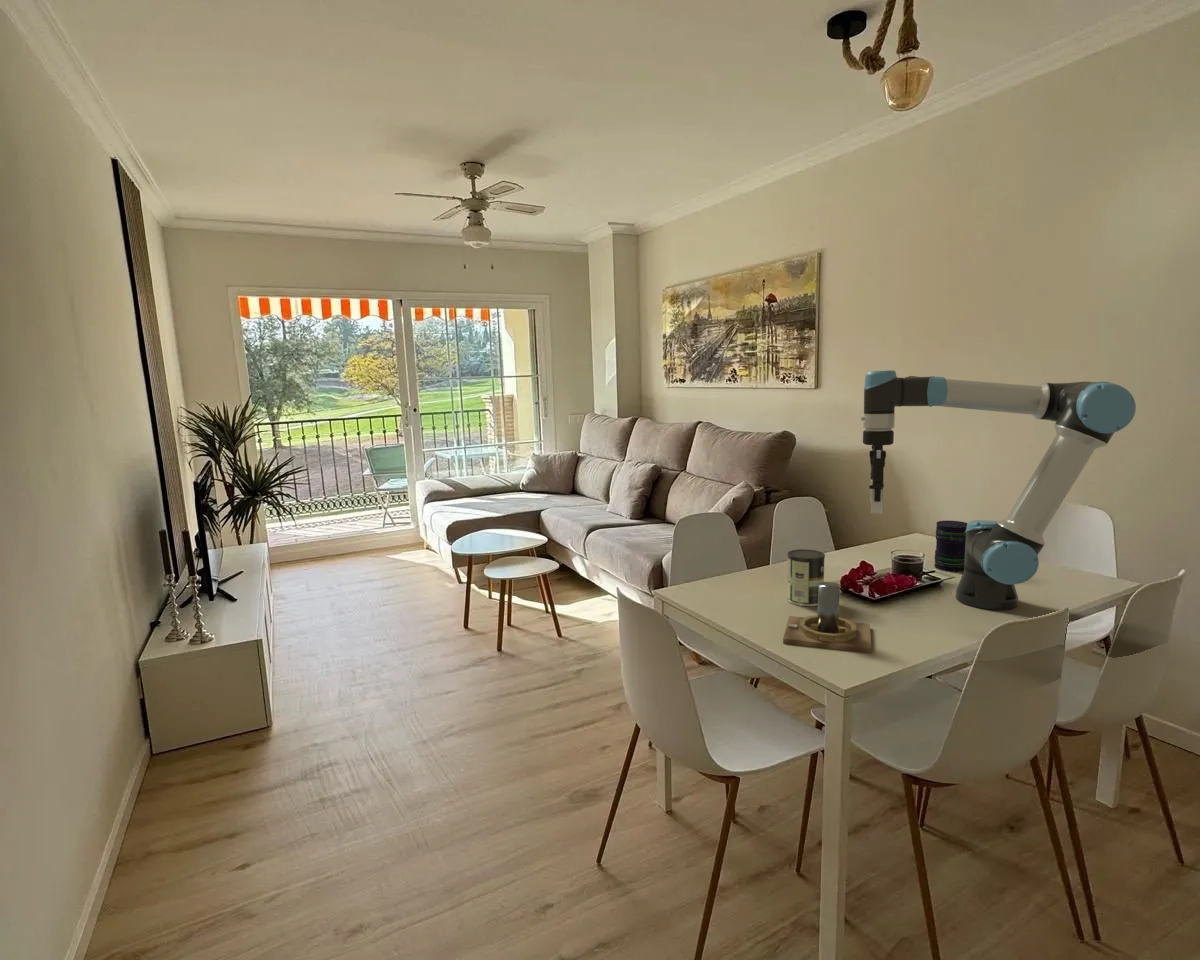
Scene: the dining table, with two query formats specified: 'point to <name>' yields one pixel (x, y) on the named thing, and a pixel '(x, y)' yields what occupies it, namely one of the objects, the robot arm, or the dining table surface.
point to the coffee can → (804, 576)
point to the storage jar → (950, 546)
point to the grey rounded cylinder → (828, 609)
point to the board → (828, 635)
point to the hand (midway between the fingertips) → (875, 508)
